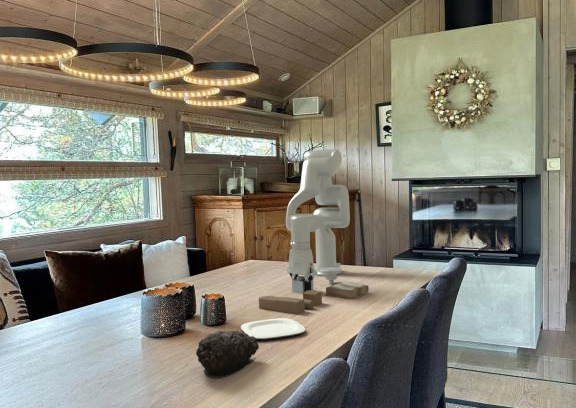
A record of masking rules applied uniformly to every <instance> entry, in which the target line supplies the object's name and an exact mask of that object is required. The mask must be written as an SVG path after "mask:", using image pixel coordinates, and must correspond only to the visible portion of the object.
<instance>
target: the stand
mask: <svg viewBox="0 0 576 408" xmlns="http://www.w3.org/2000/svg"><path fill="white" fill-rule="evenodd" d="M367 294H369V285H367V284H364V283H354V282H349V281H348V282H347V281H343V282H339V283H336V284H332V285H329V286H327V287H325V295H326V296H329V297H335V298H336V297H337V298H341V299H342V298H343V299H349V300H353V299H356V298H359V297H362V296H364V295H365V296H366V295H367Z"/></svg>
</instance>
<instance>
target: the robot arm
mask: <svg viewBox="0 0 576 408" xmlns="http://www.w3.org/2000/svg"><path fill="white" fill-rule="evenodd" d="M342 160H343V157H342V153H341V152H340V150H338V149H333V148H332V149H330V148H329V149H313V150H309V151H308V150H307V151H306V152H305V153H304V154H303V164H302V167H301V168H302V169H301V179H300V184H299V186H300V187H299V190H298V192H297V193H295V195H293V197H292V198H291V200H290V201H289V202H288V205H287V208H286V214H285V226H286V229H287V230H288V231H290V236H291V242H290V243H289V246H291V248H290V250H289V255H288V268H287V269H286V272H287V273H288V274H289V276H290V277H291V281H292V280H294V279H297V276H305V279H306V282H305V291H308V290H310V291H311V281H312V280H313V281H314V278H315V277H316V276H323V277H326V274H323V273H321V272H320V269H321V268H325V267H339V268H341V266H342V264H341V262H337V246H336V244H337V243H336V240H337V239H336V235H335V233H334V232H333V230H332V229H337V228H338V229H343V228H344V229H345V228H347V227H349V225H350V221H351V215H350V213H351V211H350V195H349V191H348V190H349V189H348V188H347V186H345V185H344V184H333V179H332V177H334V176H335V175H336V174H337V172H338V171H339V169H340V167H341V164H342ZM312 199H315V200H314V201H315V203H316V204H317V205H320V206H337V207H319V208H316V209H315V210H314V211H313V213H296V211H297V209H298V208H299V206H300V205H302V204H303V203H306V202H307V201H310V200H312ZM312 232H314V233H315V235H314V236H315V264H316V265H315V267H316V269H315V267H314V256H313V251H312V249H311V233H312Z"/></svg>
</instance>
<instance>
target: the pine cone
mask: <svg viewBox="0 0 576 408" xmlns="http://www.w3.org/2000/svg"><path fill="white" fill-rule="evenodd" d="M259 346H260V345H259V343H258V341H257V339H256V338H255V337H254V336H251V337H250V336H249V335H248V334H246V333H244V332H241V331H239V330H224V331H222V330H218V331H215V332H213V333H209V334H208V335H206V336H204V338H202V339H201V340H199V342H198V348H197V349H196V351H195V354H196V356H197V357H198V358H197V361H198V362H199V363H200V365H201V366H202V367H203V369H204V370H203V373H204V375H206V376H208V377H211V378H215V379H217V378H218V379H220V378H224V377H229V376H231V375H233V374H235V373H237V372H240V371H241V370H243V369H245V368H246V367H247V366H249V365H250V364H252V363H254V361H255V360H256V359H257V358H256V357H253V358H252V356H254V355H256V353H257V351H258V350H259V348H260V347H259Z"/></svg>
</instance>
